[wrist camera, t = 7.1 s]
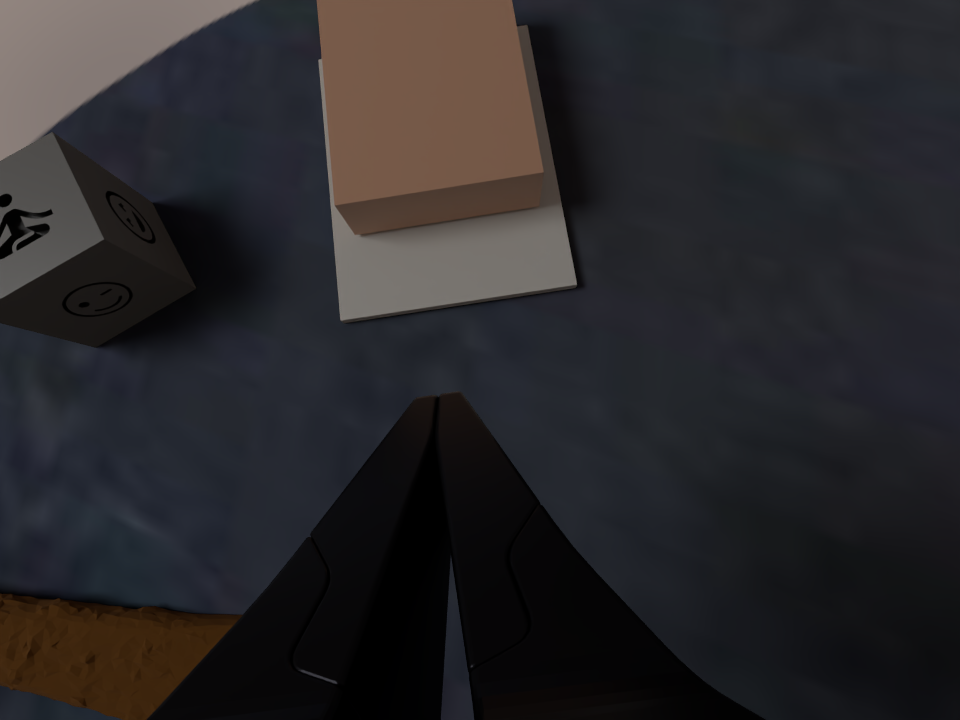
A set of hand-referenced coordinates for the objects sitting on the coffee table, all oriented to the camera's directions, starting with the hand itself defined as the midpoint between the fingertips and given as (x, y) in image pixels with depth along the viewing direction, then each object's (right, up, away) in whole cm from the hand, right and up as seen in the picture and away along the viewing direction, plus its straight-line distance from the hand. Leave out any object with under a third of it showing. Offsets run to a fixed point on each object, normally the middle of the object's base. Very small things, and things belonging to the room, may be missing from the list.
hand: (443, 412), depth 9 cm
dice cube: (-15, +5, +13) cm, 21 cm away
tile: (-1, +7, +10) cm, 13 cm away
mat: (-1, +10, +13) cm, 16 cm away
